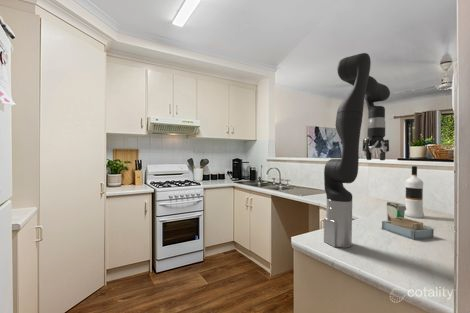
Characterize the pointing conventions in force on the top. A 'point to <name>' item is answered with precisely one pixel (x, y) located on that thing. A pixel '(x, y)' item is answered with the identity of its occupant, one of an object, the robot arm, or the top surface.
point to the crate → (408, 231)
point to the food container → (395, 210)
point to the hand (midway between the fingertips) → (375, 160)
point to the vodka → (414, 196)
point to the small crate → (407, 223)
